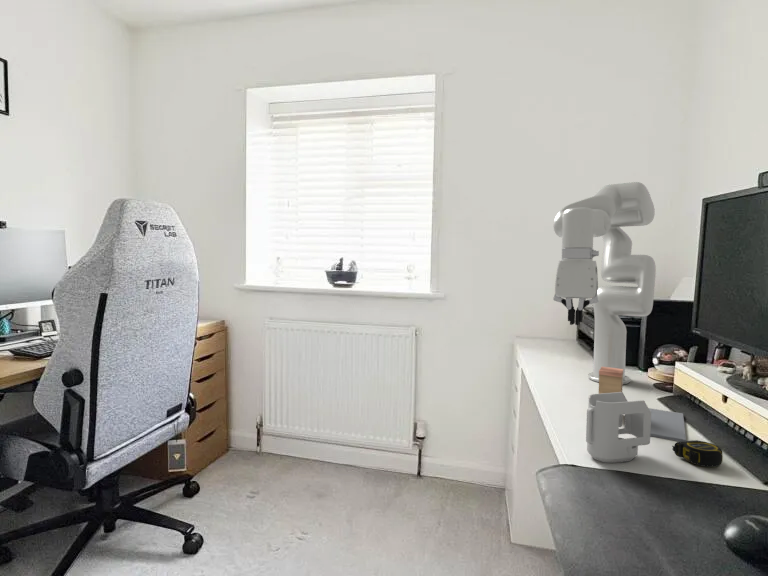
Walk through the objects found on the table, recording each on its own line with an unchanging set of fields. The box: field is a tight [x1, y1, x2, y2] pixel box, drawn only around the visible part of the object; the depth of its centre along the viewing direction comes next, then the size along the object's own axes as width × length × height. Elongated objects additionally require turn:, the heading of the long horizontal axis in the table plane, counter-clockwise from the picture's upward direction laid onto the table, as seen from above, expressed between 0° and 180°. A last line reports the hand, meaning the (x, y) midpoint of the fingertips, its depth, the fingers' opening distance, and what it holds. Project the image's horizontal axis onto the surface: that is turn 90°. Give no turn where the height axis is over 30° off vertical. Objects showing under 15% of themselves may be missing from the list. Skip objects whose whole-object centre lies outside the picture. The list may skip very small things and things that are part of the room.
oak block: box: [598, 367, 624, 394], centre depth 114 cm, size 5×5×12 cm
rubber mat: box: [648, 407, 687, 442], centre depth 109 cm, size 20×12×1 cm, turn 147°
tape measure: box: [671, 439, 723, 467], centre depth 88 cm, size 7×7×4 cm
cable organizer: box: [585, 391, 651, 464], centre depth 90 cm, size 7×13×12 cm, turn 103°
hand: (574, 324), depth 118 cm, fingers closed
